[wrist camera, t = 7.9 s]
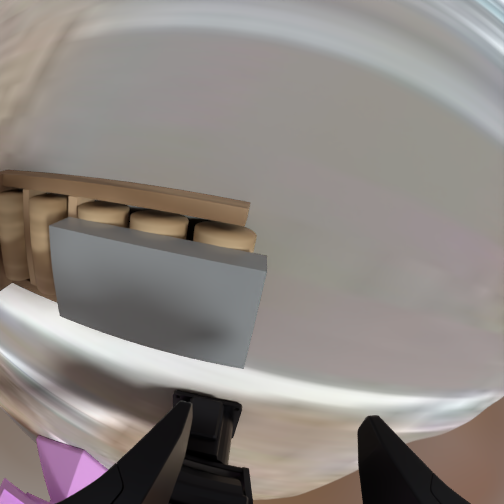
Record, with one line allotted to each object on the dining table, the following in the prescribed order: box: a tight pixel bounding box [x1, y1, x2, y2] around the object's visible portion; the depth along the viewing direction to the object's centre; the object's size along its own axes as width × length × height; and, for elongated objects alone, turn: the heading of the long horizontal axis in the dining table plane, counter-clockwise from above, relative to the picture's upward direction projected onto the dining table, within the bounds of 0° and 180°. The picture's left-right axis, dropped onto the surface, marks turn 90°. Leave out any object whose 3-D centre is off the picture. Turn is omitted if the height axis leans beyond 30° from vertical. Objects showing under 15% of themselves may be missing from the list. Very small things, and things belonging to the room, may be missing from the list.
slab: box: [49, 217, 267, 369], centre depth 14 cm, size 6×12×2 cm, turn 79°
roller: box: [29, 193, 70, 295], centre depth 17 cm, size 7×4×4 cm, turn 169°
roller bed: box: [0, 171, 257, 302], centre depth 17 cm, size 10×22×4 cm, turn 79°
